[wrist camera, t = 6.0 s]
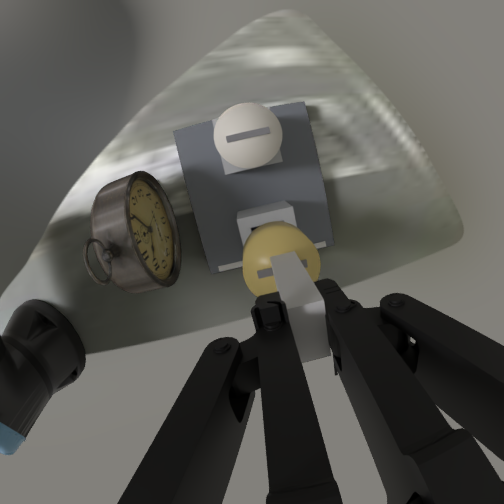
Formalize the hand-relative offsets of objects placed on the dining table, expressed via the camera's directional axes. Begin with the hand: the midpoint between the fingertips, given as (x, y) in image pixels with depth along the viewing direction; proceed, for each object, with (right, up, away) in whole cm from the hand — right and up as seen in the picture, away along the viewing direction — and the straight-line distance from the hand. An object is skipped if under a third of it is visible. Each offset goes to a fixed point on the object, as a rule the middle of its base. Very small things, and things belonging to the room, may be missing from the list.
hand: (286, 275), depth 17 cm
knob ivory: (-3, +12, +10) cm, 16 cm away
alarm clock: (-13, +5, +15) cm, 20 cm away
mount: (-2, +9, +14) cm, 16 cm away
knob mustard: (0, +3, +9) cm, 9 cm away
